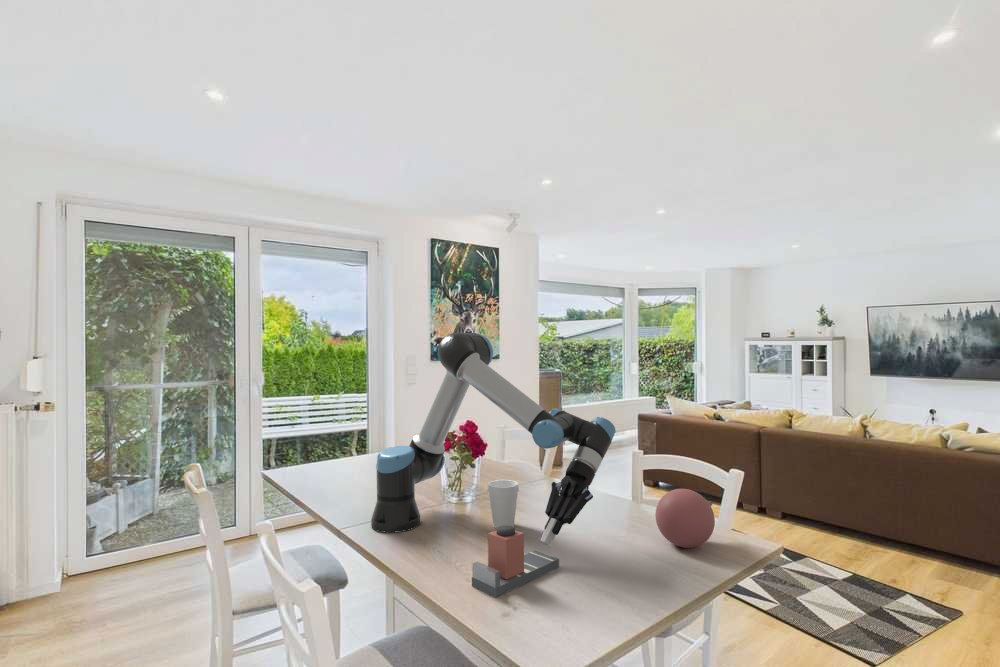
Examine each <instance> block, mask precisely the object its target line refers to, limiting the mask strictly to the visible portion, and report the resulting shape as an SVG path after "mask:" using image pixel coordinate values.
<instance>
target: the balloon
mask: <svg viewBox="0 0 1000 667" xmlns="http://www.w3.org/2000/svg"><path fill="white" fill-rule="evenodd" d="M712 506H713V502H711V501H708V500H707V499H706V498H705V497H704V496H703V495H702V494H700V493H699V492H697V491H694V490H692V489H688V488H675V489H673V490H669V491H668V492H666V493H665V494H664V495H662V496H661V498H660V499H659V501H658V502H657V505H656V509H655V522H656V526H657V528H658V530H659V532H660V533H661V535H662V536H663V538H664V539H666V541H668V542H670V543H671V544H672V545H674V546H677V547H681V548H684V549H685V548H686V549H689V548H690V549H691V548H692V549H693V548H697V547H699V546H701V545H703V544H705V543H706V542H707V541H709V539H710V538H711V537H712V534H713V533H714V528H715V525H716V524H715V523H716V518H715V514H714V510H713V508H712Z"/></svg>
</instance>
